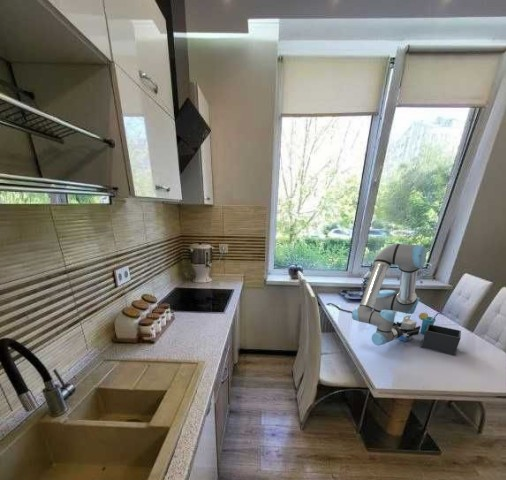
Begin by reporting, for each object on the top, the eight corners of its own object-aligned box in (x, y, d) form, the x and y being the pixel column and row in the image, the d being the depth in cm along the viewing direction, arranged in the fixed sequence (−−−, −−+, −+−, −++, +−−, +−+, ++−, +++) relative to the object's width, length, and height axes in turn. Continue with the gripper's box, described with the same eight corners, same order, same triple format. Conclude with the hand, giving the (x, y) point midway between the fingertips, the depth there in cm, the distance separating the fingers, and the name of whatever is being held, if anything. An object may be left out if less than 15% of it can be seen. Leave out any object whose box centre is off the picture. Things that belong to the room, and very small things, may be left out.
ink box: (405, 341, 169) (411, 319, 163) (397, 338, 173) (403, 317, 167) (412, 338, 174) (418, 317, 168) (404, 335, 178) (410, 314, 171)
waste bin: (420, 347, 163) (425, 330, 158) (423, 339, 173) (428, 323, 168) (454, 355, 154) (460, 338, 150) (455, 347, 164) (461, 330, 159)
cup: (434, 331, 185) (440, 310, 178) (440, 336, 178) (447, 314, 171) (412, 330, 186) (418, 309, 180) (417, 335, 179) (424, 313, 173)
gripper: (374, 333, 170) (394, 325, 182) (408, 346, 154) (428, 337, 166) (376, 321, 167) (397, 314, 179) (411, 334, 151) (431, 325, 163)
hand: (411, 325), depth 173 cm, fingers open, 9 cm apart
